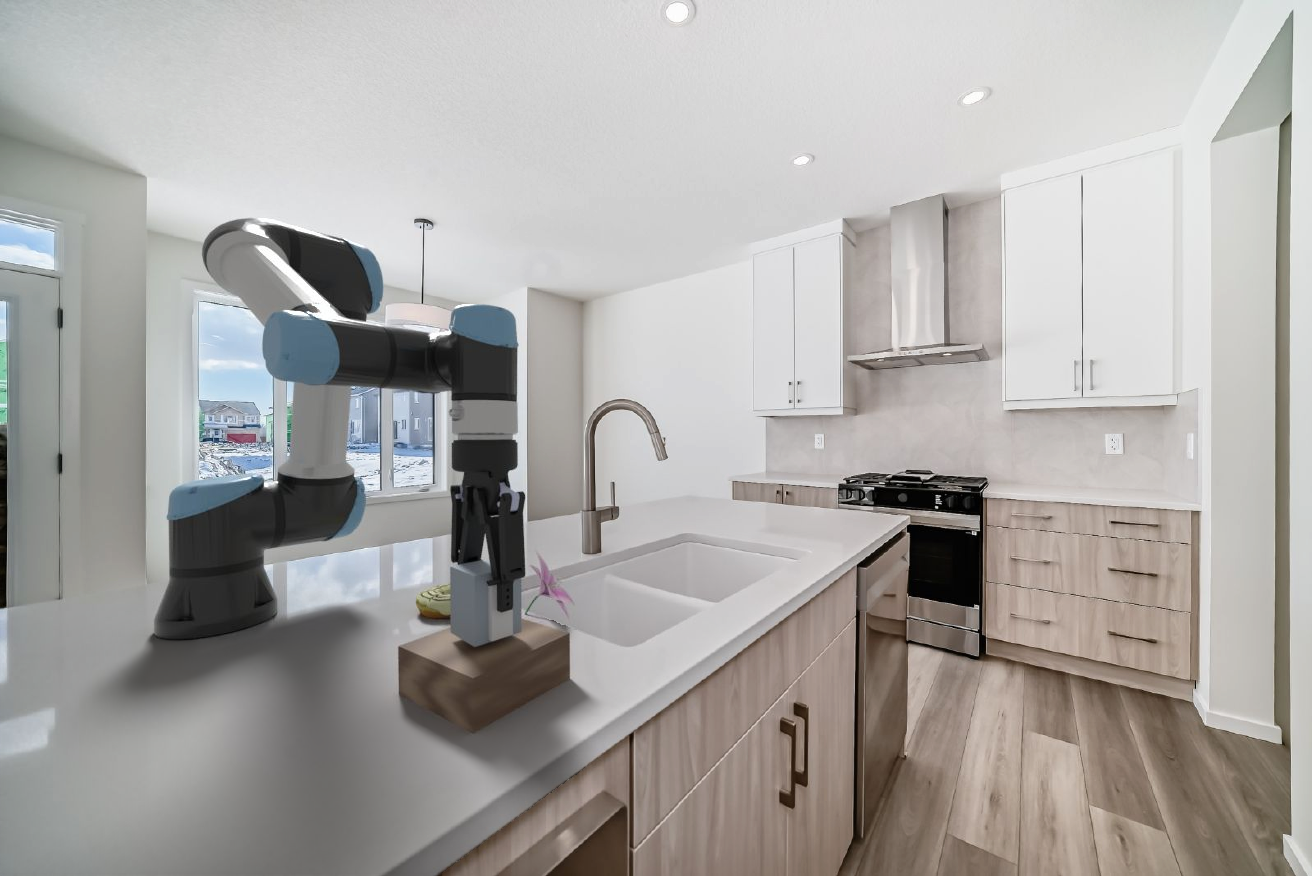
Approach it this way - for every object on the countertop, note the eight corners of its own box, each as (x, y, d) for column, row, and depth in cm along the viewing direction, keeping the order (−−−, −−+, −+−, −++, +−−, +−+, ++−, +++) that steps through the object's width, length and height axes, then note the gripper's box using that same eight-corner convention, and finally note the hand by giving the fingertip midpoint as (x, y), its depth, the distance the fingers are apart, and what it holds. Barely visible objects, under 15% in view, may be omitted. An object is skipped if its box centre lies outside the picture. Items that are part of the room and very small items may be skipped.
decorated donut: (450, 626, 81) (449, 602, 81) (402, 616, 86) (401, 593, 86) (495, 605, 91) (495, 584, 91) (450, 597, 95) (450, 577, 95)
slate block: (450, 632, 62) (450, 566, 62) (496, 619, 66) (495, 557, 66) (474, 647, 58) (474, 576, 57) (521, 631, 62) (521, 565, 62)
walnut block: (398, 696, 60) (398, 646, 60) (496, 653, 72) (496, 610, 72) (473, 736, 52) (473, 678, 52) (570, 680, 64) (569, 633, 64)
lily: (541, 640, 78) (572, 582, 79) (486, 600, 83) (516, 546, 84) (574, 635, 89) (601, 585, 90) (524, 600, 94) (551, 553, 95)
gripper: (420, 437, 65) (421, 618, 66) (497, 439, 52) (499, 664, 53) (475, 436, 71) (477, 603, 71) (558, 438, 58) (559, 642, 58)
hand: (486, 629), depth 62 cm, fingers closed on slate block, 6 cm apart
